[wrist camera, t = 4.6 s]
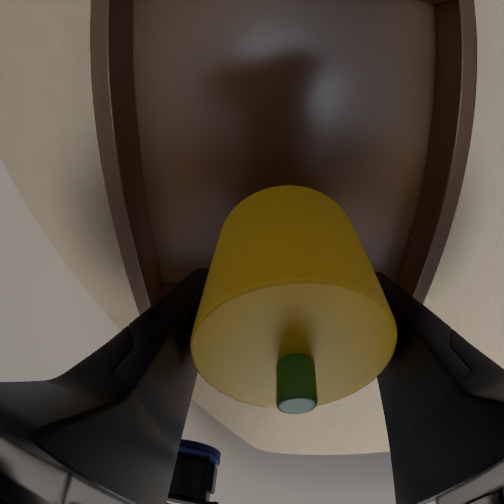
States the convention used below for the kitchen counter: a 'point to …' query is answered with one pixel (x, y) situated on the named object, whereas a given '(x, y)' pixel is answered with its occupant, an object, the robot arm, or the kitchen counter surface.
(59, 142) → the kitchen counter surface
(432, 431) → the robot arm
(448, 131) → the brown wooden tray
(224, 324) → the pepper
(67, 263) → the kitchen counter surface
